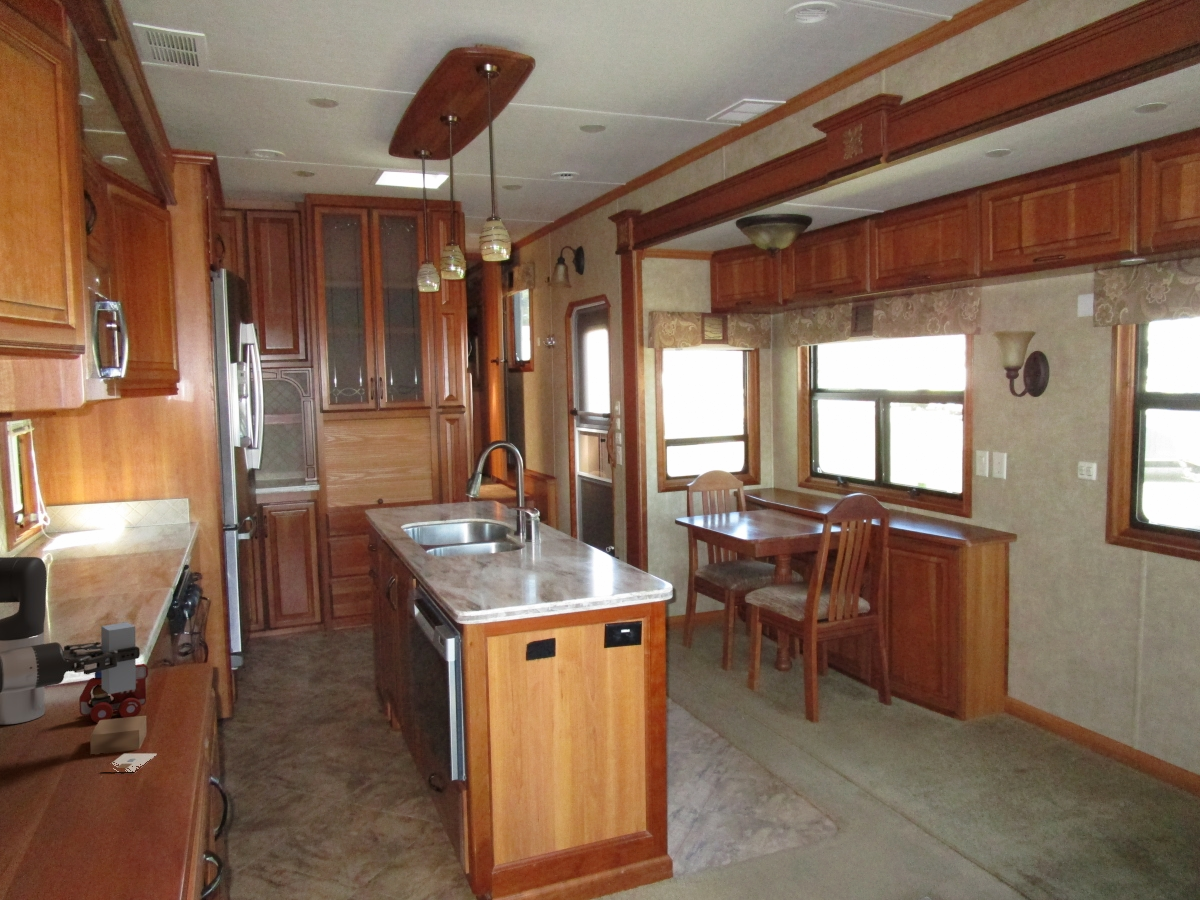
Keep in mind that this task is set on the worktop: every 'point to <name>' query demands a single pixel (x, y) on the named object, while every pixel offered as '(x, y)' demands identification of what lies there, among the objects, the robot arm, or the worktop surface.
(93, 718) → the toy fire truck
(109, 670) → the pillar
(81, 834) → the worktop surface
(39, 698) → the robot arm
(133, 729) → the base block
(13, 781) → the worktop surface
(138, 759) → the page
